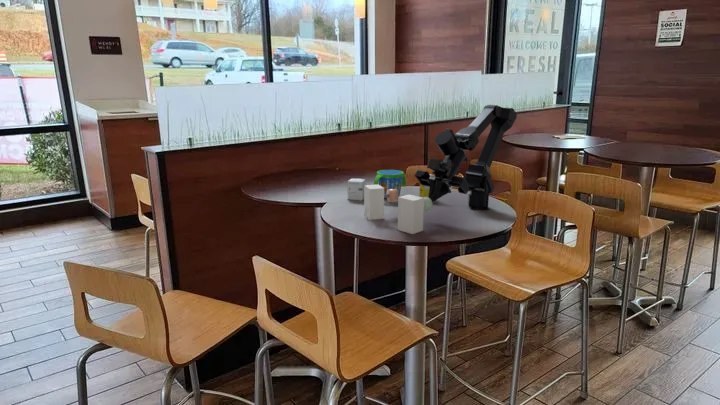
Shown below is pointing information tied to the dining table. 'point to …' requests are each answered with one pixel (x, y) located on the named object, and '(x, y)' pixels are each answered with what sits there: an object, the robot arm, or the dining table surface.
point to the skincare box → (356, 189)
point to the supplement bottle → (424, 191)
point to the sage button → (427, 204)
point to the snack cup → (390, 180)
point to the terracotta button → (392, 195)
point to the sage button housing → (410, 213)
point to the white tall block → (374, 202)
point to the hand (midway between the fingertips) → (429, 202)
